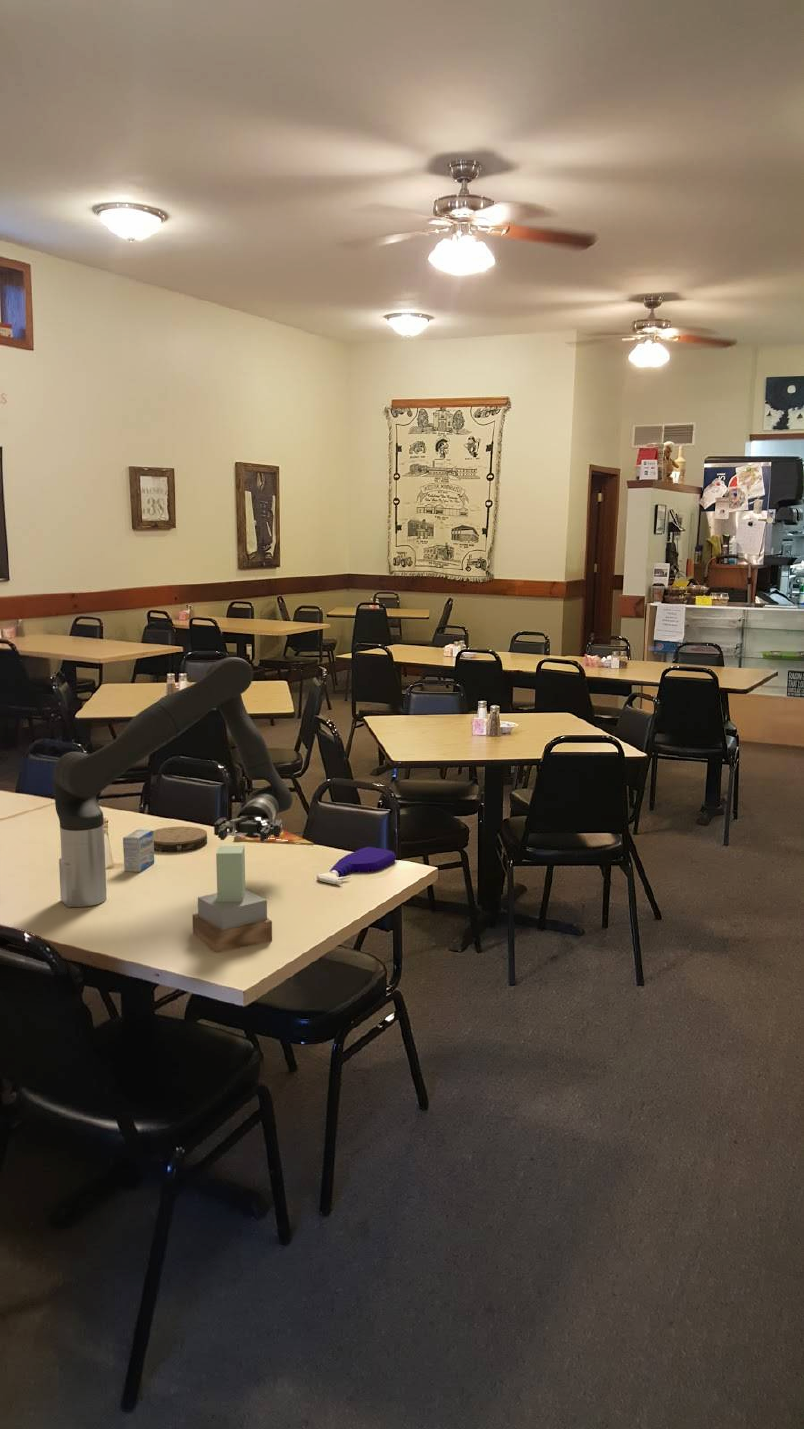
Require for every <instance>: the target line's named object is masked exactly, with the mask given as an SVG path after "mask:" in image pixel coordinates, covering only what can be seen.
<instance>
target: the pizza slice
mask: <svg viewBox="0 0 804 1429" xmlns="http://www.w3.org/2000/svg"><path fill="white" fill-rule="evenodd" d="M270 838H275V839H270ZM276 839H281V840H276ZM282 840H288V841H282ZM233 841H234V842H242V843H243V842H244V843H245V842H247V843H262V844H263V843H265V844H266V843H267V844H282V845H283V844H285V845H286V844H287V845H296V844H295V843H300V844H299V845H305V846H306V845H307V846H314V845H315V843H314V842H312V841H310V840H307V839H305V838H302V837H300V836H299V835H296V834H293V833H291V832H289V831H286V830H284V829H282V831H281V834H280V836H279V837H274V835H271V837H269V839H265V840H264V841H260V837H258V838H249V837H246V836H245V835H242V834H241V835H237V836H233Z"/></svg>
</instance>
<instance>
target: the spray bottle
mask: <svg viewBox="0 0 804 1429" xmlns="http://www.w3.org/2000/svg"><path fill="white" fill-rule="evenodd" d="M396 860H397V856H396V853H395V852H394V851H392V850H388V849H385V848H377V847H375V846H374V847H372V846H367V847H366V846H365V847H363V848H360V849H358V850H355V851H353V852H351V853H348V854H346V855H345V856H343V857H342V858H340V859H339V860H338V861H337V862H336V863H335V864H334V865H333V866H332V868H331V869H330V870H329V871H327V872H325V873H318V874H316V880H317V881H320V882H323V883H328V884H331V885H337V886H341V885H342V884H343V882H342V881H343V880H348V879H351V877H350V876H349V875H348V874H350V873H351V874H352V873H360V874H361V873H363V874H364V873H375V872H378V871H381V870H383V869H386V868H387V867H388V866H391V865H392V864H394V863H395V862H396ZM347 875H348V876H347Z"/></svg>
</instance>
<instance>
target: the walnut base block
mask: <svg viewBox="0 0 804 1429" xmlns="http://www.w3.org/2000/svg"><path fill="white" fill-rule="evenodd" d="M192 934H193V935H194V936H195V937H197V939H199V941H201V942H203V943H204V944H205V945H206V946H207V947H208V948H210V949H211V950H212V951H213V952H214V953H215V954H216V953H222V952H227V951H231V950H235V949H240V948H244V947H245V948H246V947H249V946H254V945H255V946H256V945H259V944H263V943H267V942H272V941H273V921H272V920H271V919H270V918H268V917H267V919H266V920H262V921H258V922H254V923H250V924H246V925H242V926H238V927H234V928H230V929H227V930H221V929H220V928H218V927H216V926H214V925H213V924H211V923H209V922H207V921H205V920H204V919H202V918H200V917H198V913H192Z"/></svg>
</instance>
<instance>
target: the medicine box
mask: <svg viewBox="0 0 804 1429" xmlns="http://www.w3.org/2000/svg"><path fill="white" fill-rule="evenodd" d="M153 831H154V830H152V829H142V828H141V829H136V830H134V831H132V832H130V834H128V835H126V836H124V837H122V850H123V852H122V853H123V866H124V867H123V868H124V869H123V870H124V872H132V873H133V872H134V873H135V872H136V873H142V872H143V871H144V870H145V871H146V870H147V869H148V868H149V867H150V866H152V865H153V864H155V851H154V838H153Z"/></svg>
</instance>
